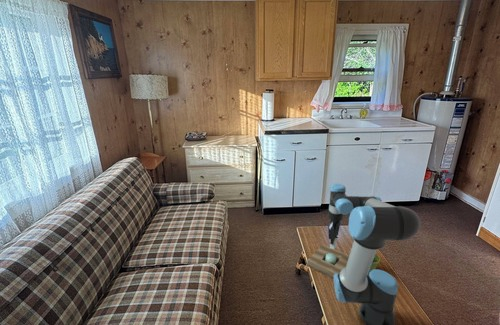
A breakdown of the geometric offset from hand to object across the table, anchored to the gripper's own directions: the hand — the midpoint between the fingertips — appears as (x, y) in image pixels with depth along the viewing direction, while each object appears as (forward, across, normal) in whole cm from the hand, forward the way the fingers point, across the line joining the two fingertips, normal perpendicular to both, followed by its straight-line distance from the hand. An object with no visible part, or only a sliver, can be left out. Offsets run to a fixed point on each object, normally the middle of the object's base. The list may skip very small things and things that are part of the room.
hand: (332, 247), depth 153 cm
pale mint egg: (+11, +1, 0) cm, 11 cm away
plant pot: (+12, +11, -18) cm, 25 cm away
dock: (+12, +1, 0) cm, 12 cm away
